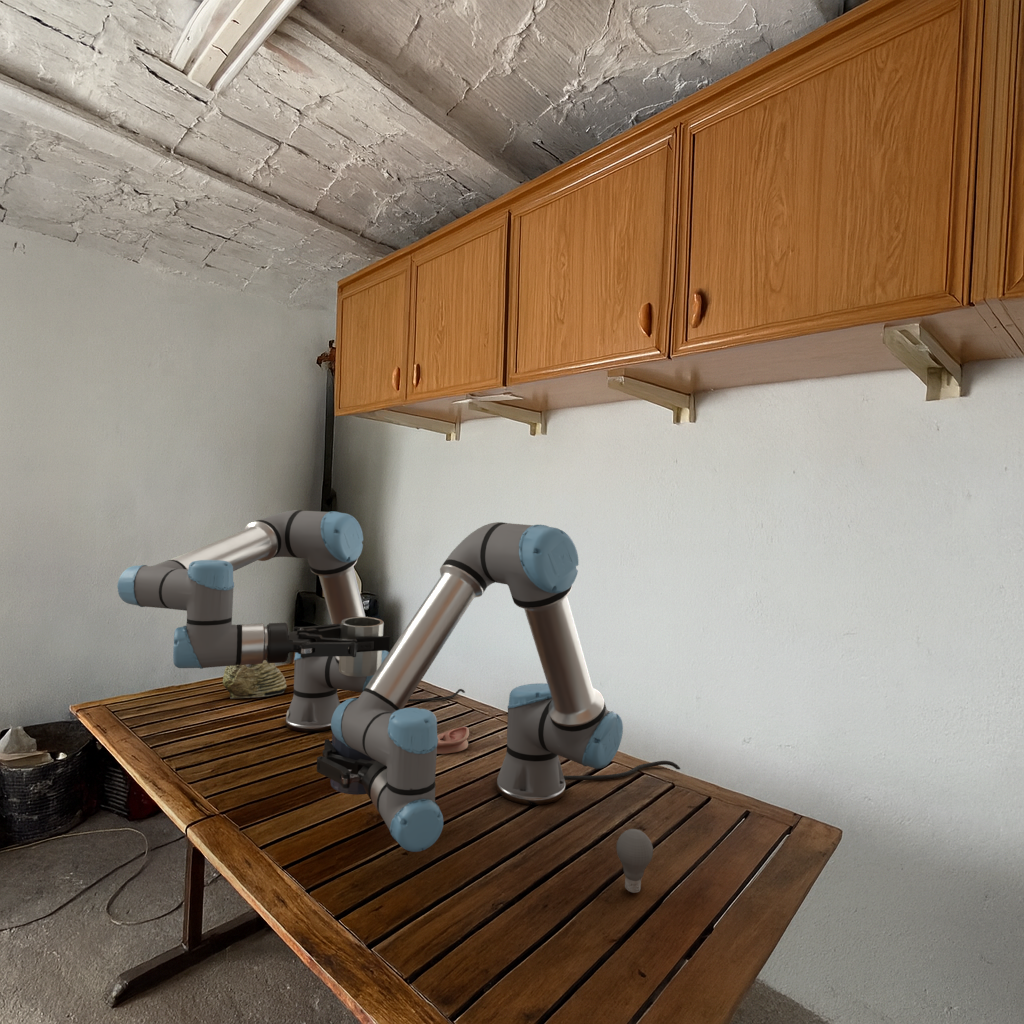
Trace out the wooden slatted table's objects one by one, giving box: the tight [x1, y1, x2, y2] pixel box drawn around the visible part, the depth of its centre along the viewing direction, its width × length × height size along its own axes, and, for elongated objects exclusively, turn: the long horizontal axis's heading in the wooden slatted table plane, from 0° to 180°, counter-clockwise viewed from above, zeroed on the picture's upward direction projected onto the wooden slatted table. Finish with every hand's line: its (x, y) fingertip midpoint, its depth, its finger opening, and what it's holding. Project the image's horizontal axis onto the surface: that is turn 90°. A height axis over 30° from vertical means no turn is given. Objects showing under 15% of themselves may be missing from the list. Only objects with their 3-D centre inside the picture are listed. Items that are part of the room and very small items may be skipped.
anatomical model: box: [437, 726, 470, 755], centre depth 164 cm, size 13×4×12 cm
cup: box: [339, 616, 385, 677], centre depth 128 cm, size 8×8×10 cm
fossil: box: [222, 660, 288, 699], centre depth 198 cm, size 9×18×15 cm, turn 132°
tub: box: [329, 731, 376, 796], centre depth 123 cm, size 12×12×11 cm
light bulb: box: [615, 828, 654, 894], centre depth 106 cm, size 6×6×10 cm
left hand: (383, 637), depth 130 cm, fingers closed on cup, 8 cm apart
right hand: (358, 741), depth 126 cm, fingers closed on tub, 12 cm apart
